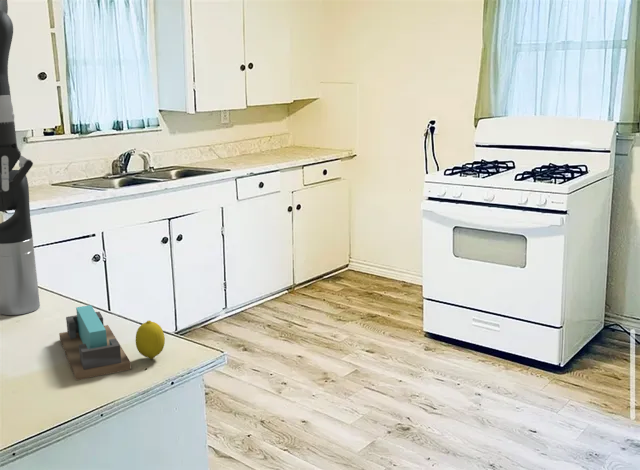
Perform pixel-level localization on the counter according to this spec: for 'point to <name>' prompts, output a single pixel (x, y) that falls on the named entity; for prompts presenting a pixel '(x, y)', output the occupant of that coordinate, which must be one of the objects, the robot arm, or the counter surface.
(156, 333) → the lemon
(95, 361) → the slat frame
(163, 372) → the counter surface
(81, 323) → the slat
